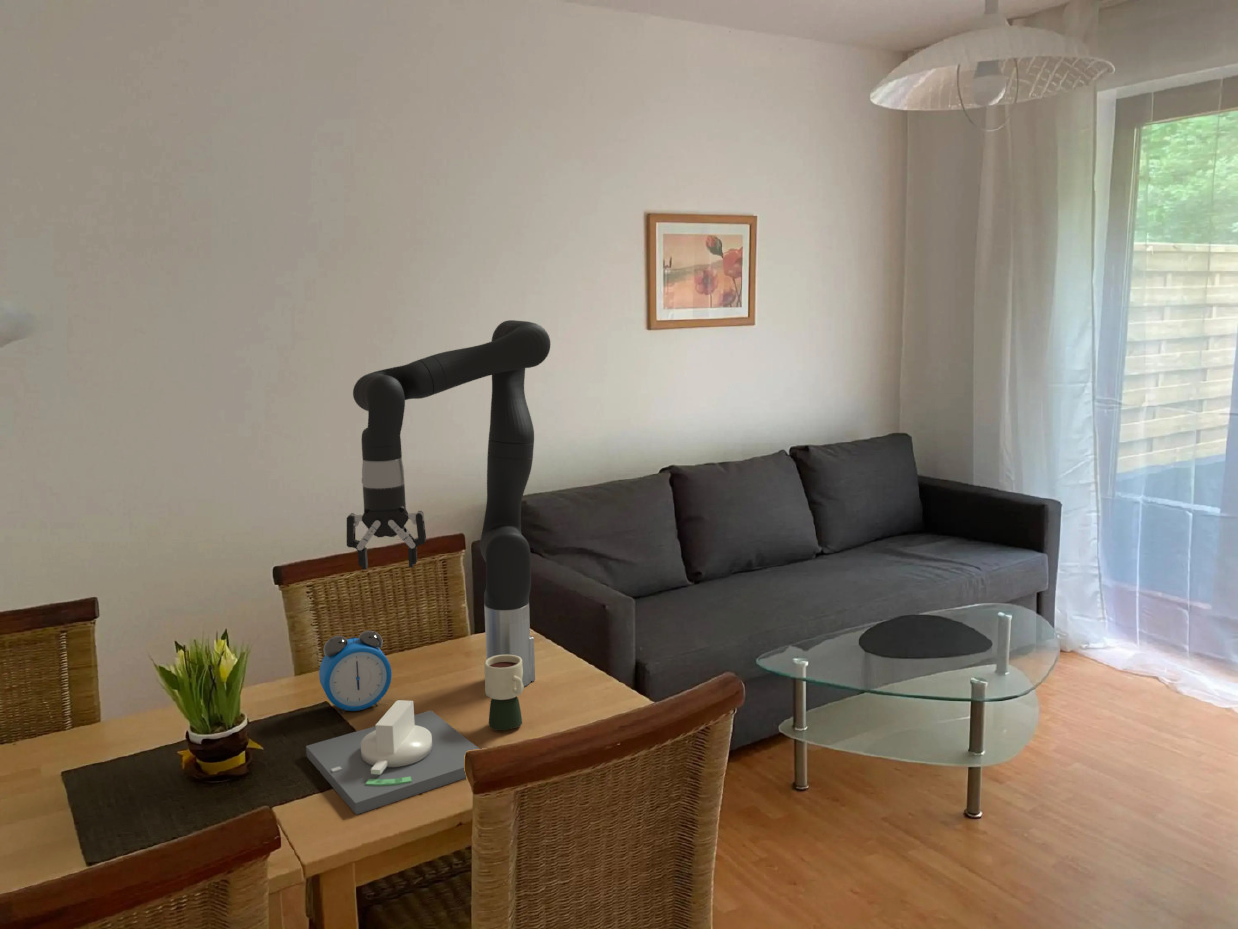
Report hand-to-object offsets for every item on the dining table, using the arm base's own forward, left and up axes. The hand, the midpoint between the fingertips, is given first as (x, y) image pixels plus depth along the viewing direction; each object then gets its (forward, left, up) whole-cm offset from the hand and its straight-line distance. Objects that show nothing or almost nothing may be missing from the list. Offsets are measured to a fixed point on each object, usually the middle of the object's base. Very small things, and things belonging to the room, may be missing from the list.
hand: (388, 567), depth 177 cm
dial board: (+7, +17, -30) cm, 35 cm away
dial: (+8, +18, -28) cm, 34 cm away
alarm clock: (+4, -10, -30) cm, 32 cm away
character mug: (-15, +16, -30) cm, 37 cm away
